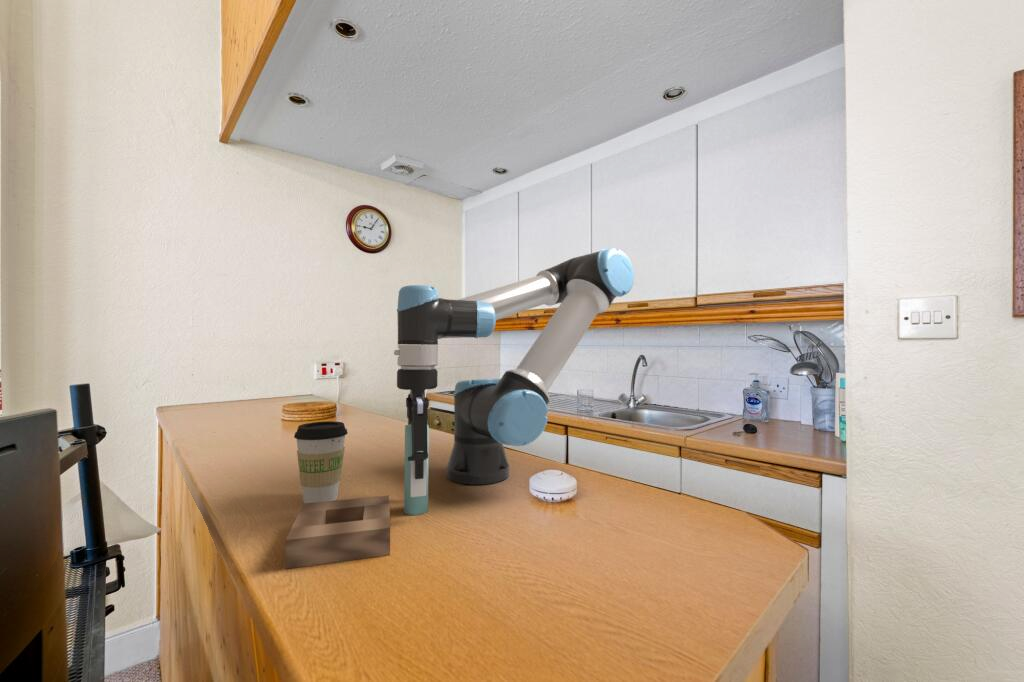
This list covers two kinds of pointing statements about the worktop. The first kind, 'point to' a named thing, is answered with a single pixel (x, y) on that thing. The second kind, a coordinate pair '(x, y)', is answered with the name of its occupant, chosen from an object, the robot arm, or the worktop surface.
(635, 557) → the worktop surface
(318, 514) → the socket block
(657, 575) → the worktop surface
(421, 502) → the peg
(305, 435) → the coffee cup
